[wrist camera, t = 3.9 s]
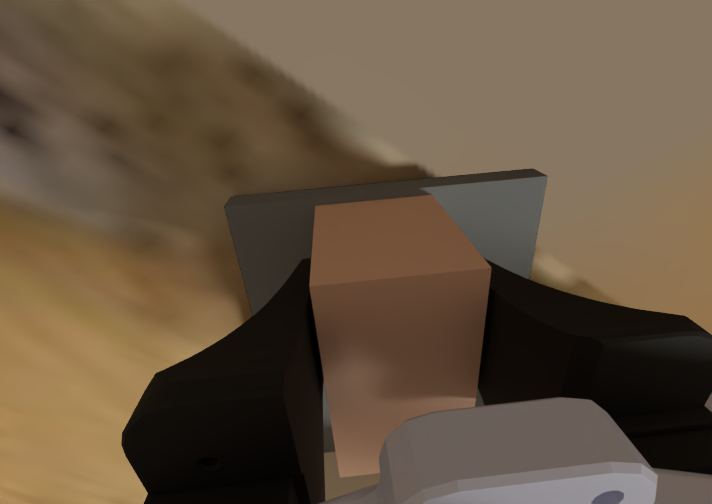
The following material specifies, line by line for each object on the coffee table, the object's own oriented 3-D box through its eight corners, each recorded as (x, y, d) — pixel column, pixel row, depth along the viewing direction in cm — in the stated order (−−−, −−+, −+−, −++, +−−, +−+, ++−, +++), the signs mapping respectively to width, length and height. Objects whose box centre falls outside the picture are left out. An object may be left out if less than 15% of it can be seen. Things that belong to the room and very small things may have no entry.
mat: (533, 168, 13) (547, 175, 12) (480, 502, 23) (486, 519, 23) (231, 196, 13) (224, 206, 12) (311, 523, 23) (311, 541, 22)
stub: (431, 195, 12) (491, 267, 8) (427, 349, 16) (468, 462, 11) (315, 205, 12) (309, 286, 8) (335, 359, 15) (339, 477, 11)
